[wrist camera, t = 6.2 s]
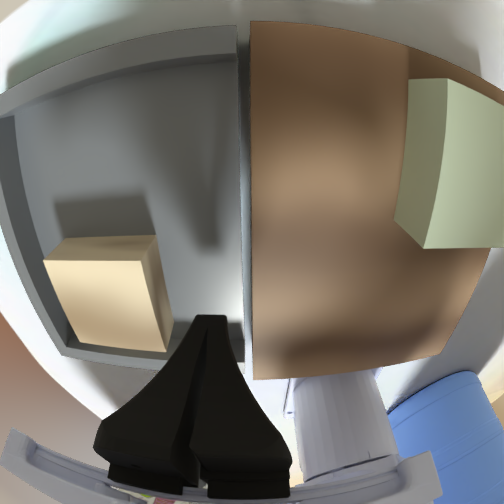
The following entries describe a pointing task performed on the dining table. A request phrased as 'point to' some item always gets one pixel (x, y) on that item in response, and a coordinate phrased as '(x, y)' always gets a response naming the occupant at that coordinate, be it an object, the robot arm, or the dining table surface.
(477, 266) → the walnut board
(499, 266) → the dining table surface
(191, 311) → the tray
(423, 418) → the water jug
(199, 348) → the robot arm
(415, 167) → the sage tile
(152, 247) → the ash block
